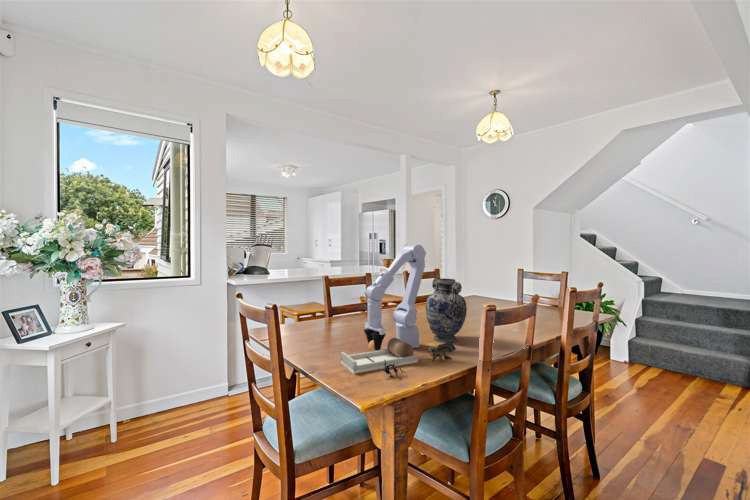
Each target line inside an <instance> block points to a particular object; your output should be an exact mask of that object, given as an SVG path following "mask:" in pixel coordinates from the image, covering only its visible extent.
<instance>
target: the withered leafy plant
mask: <svg viewBox="0 0 750 500" xmlns="http://www.w3.org/2000/svg"><path fill="white" fill-rule="evenodd" d="M456 348H457V347H456V346H455V345H454V344H452V343H451V342H449V343H446V342H444V343H441V344H438V345H437V347H436V348H435V347H434V346H430V347H428V348H427V349H428V351H429V352H430V353H432V354H430V356H431V357H432V362H434V361H435V360H436V358H440V359H441V360H442V361H444V362H446V358H445V357H447V358H450V359H452V357H451V356H449V355H448V353H454V352H455V351H456Z"/></svg>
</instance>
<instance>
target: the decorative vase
mask: <svg viewBox="0 0 750 500" xmlns="http://www.w3.org/2000/svg"><path fill="white" fill-rule="evenodd" d="M431 284H432V286H431V287H432V288H433V289H434V291H433V292H432V293H431V294H430V295H428V297H427V299H426V302H425V316H426V320H427V323H428V325H429V329H430V331H431V333H432V334H433V335H434V336H433V339H434V340H435V341H437V342H439V343H456V342H457V341H458V338H457V336H455V335H456V334H458V333H460V331H461V329H462V327H463V326H464V323H465V321H466V318H467V310H468V309H467V308H468V307H467V302H466V299H465V298H464V297H463V295H461V294H460V293H461V292H462V289H463V288H462V284H461V283H460V282H459V281H456V279H454V278H434V279H432V283H431Z"/></svg>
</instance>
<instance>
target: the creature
mask: <svg viewBox="0 0 750 500" xmlns="http://www.w3.org/2000/svg"><path fill="white" fill-rule="evenodd" d="M398 363H399V362H398ZM398 363H397V365H398ZM394 364H395V363H394ZM394 364H393V365H391V364H390V365H388V366H387V367H386V361H385V368H383V370H384V372H385V373H386V374H387V375H388V376H389V375H390V378H392V379H393V378H394V376H392V374H393V372H394V375H395V377H396V378H398V379H399V380H402V378H400V377H399V376H398V375H397V374H398V372H399V371H398V370H400V372H401V373H406V371H405V370H403V369H402V368H401V367H399V369H398V366H396V365H395V366H394ZM390 366H392V367H390ZM390 368H393V372H391V371H390Z"/></svg>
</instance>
